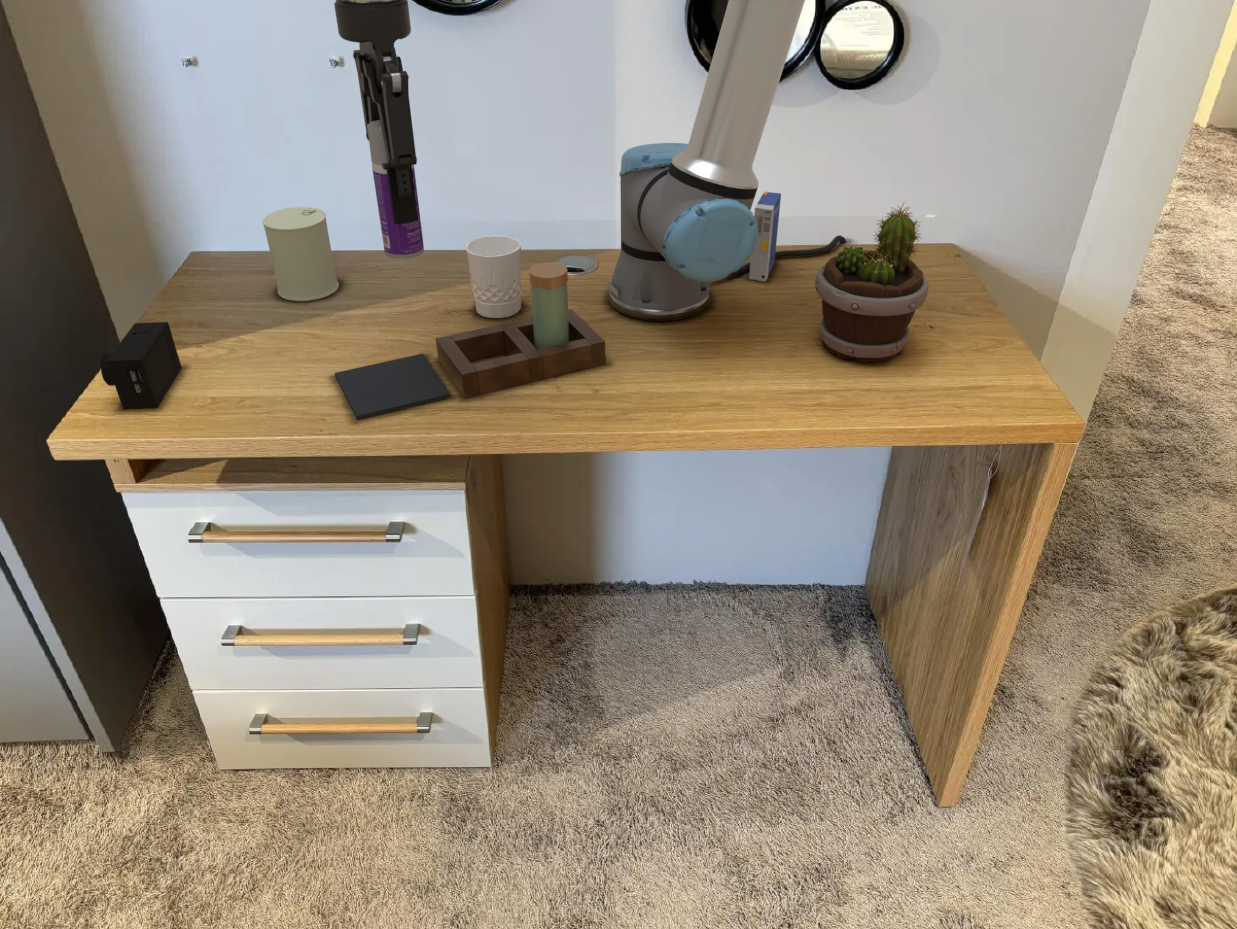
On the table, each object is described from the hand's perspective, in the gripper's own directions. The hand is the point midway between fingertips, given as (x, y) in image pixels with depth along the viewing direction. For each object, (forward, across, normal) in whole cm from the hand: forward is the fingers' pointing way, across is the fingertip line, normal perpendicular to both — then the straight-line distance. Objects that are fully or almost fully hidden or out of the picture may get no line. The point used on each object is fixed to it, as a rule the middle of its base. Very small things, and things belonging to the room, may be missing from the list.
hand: (399, 213), depth 113 cm
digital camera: (+23, -14, -32) cm, 42 cm away
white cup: (+23, -16, +17) cm, 32 cm away
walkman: (+23, -10, +60) cm, 65 cm away
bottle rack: (+23, +1, +14) cm, 26 cm away
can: (+23, -36, -7) cm, 43 cm away
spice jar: (+23, +1, +18) cm, 29 cm away
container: (+5, 0, 0) cm, 5 cm away
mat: (+23, 0, -4) cm, 23 cm away
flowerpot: (+23, +18, +58) cm, 64 cm away
